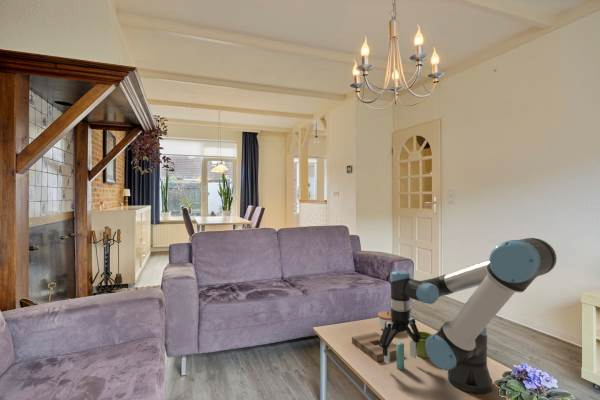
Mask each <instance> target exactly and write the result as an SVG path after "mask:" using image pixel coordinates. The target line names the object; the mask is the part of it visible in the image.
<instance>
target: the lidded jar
mask: <svg viewBox="0 0 600 400" xmlns="http://www.w3.org/2000/svg"><path fill="white" fill-rule="evenodd" d="M391 321H392V318H391V311H387V310H385V311H379V312H377V322H378V324H379V327H380V328H381V330H382V331H383V330H384V328H385V322H388V323H389V322H391ZM391 327H392V326H391Z"/></svg>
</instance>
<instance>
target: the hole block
mask: <svg viewBox="0 0 600 400" xmlns="http://www.w3.org/2000/svg"><path fill="white" fill-rule="evenodd" d="M381 335H382V334H379V333H378V332H377V331H376V332H375V331H374V332H370V333H365V334H360V335H354V336H351V344H352V345H354V346H355V347H357V348H358V349H360V350H361V351H362V352H363V353H365V355H367V356H369V357H370V359H373V361H375V362H376V363H377V362H378V363H379V362H383V361H384V355H383V348H382V347H381V346H379V345H378V343H379V341H380V338H381ZM388 348H390V360H391V359H394V358H395V359H396V358H397V343H394V342H393V341H392V342H391V343H390V345H389V347H388Z"/></svg>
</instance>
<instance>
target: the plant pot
mask: <svg viewBox="0 0 600 400" xmlns="http://www.w3.org/2000/svg"><path fill="white" fill-rule="evenodd" d="M418 331H419V330H418ZM412 333H413V332H412ZM419 333H420V336H421V339H419V342H417V349H416V356H419V357H420V358H425V359H426V358H427V359H428V358H429V356H428V354H427V350H426V348H425V343H426V340H427V338H428V337H429V336H431V335H433V334H432V333H429V332H427V331H423V330H422V331H419ZM413 334H414V333H413Z"/></svg>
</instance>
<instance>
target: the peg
mask: <svg viewBox="0 0 600 400" xmlns="http://www.w3.org/2000/svg"><path fill="white" fill-rule="evenodd" d="M396 345H397V357H396V369H397V370H400V371H403V370H404V369H405V343H403V342H396Z"/></svg>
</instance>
